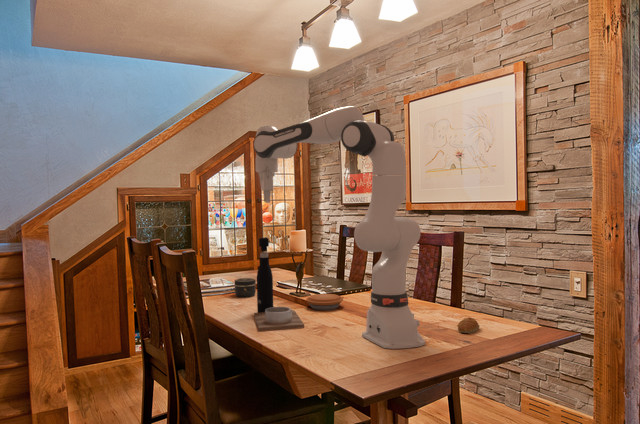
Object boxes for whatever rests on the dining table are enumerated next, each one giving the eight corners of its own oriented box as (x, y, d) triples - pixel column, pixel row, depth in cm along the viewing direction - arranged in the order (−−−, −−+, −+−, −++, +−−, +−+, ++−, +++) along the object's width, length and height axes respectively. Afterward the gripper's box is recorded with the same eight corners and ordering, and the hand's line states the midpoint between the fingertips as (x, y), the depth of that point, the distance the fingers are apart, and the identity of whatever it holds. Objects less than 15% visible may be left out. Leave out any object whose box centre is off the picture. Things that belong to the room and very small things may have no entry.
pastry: (474, 336, 158) (474, 324, 158) (453, 333, 161) (453, 322, 161) (480, 328, 166) (479, 318, 166) (460, 326, 169) (460, 316, 169)
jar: (235, 298, 223) (234, 282, 222) (234, 294, 232) (233, 278, 232) (257, 297, 225) (256, 280, 225) (254, 293, 235) (254, 277, 235)
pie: (299, 310, 198) (299, 297, 198) (316, 302, 212) (316, 290, 212) (334, 313, 192) (333, 300, 191) (348, 304, 206) (348, 293, 205)
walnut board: (304, 327, 171) (304, 324, 171) (258, 331, 167) (258, 327, 167) (294, 313, 192) (294, 310, 192) (253, 316, 189) (253, 313, 189)
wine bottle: (274, 310, 198) (273, 237, 197) (271, 314, 191) (270, 238, 190) (259, 310, 198) (257, 237, 197) (255, 314, 192) (254, 239, 191)
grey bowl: (293, 322, 173) (293, 311, 173) (266, 324, 171) (266, 313, 171) (289, 316, 182) (289, 305, 182) (264, 318, 180) (264, 307, 180)
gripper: (276, 166, 183) (277, 203, 184) (272, 168, 203) (273, 201, 204) (259, 166, 182) (260, 203, 182) (257, 168, 202) (258, 201, 203)
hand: (267, 202), depth 193 cm, fingers open, 8 cm apart
